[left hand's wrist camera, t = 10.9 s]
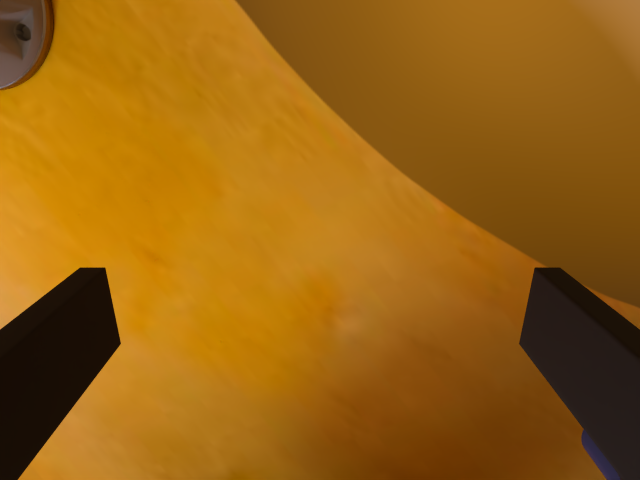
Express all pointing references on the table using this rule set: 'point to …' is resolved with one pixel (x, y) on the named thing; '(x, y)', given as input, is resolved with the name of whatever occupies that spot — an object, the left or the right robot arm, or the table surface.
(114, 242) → the table surface
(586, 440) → the cylinder
